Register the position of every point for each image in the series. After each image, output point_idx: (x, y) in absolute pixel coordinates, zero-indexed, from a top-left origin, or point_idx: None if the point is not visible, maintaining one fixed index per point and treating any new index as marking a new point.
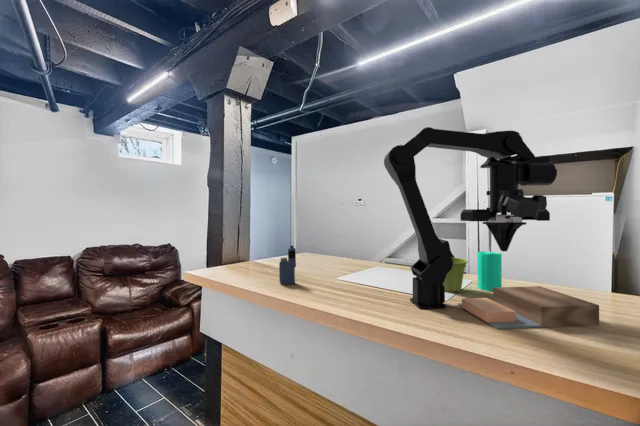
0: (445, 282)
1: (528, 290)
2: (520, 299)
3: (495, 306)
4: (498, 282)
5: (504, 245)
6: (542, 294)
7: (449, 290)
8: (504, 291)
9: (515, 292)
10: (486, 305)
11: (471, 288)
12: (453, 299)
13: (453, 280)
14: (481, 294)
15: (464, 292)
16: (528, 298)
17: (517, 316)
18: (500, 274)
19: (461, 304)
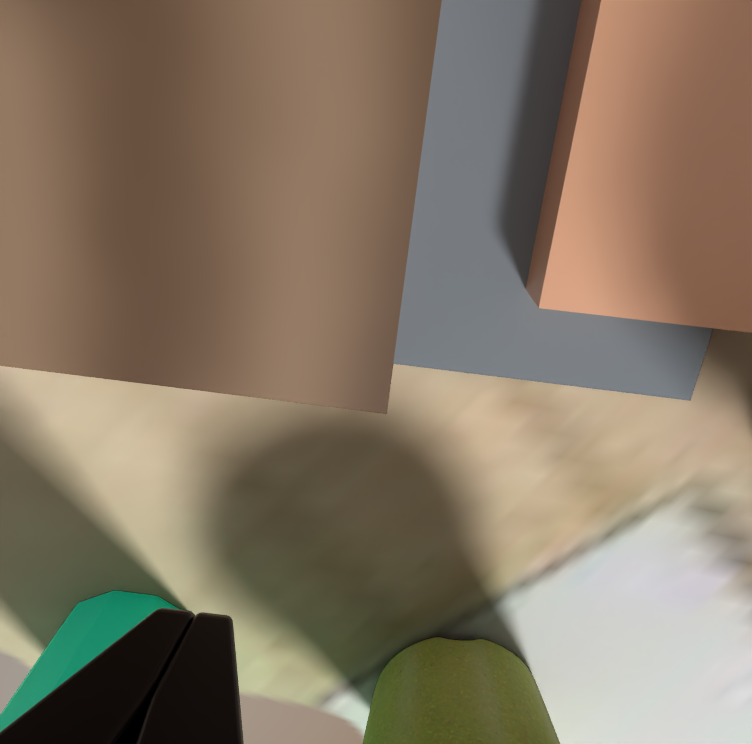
0: (543, 718)
1: (127, 252)
2: (436, 25)
3: (681, 65)
4: (86, 641)
5: (201, 697)
6: (94, 102)
7: (507, 655)
8: (390, 276)
9: (312, 220)
10: (734, 112)
11: (269, 683)
12: (607, 507)
13: (500, 707)
14: (302, 558)
15: (394, 620)
16: (356, 2)
17: (482, 19)
18: (23, 702)
19: (685, 368)
